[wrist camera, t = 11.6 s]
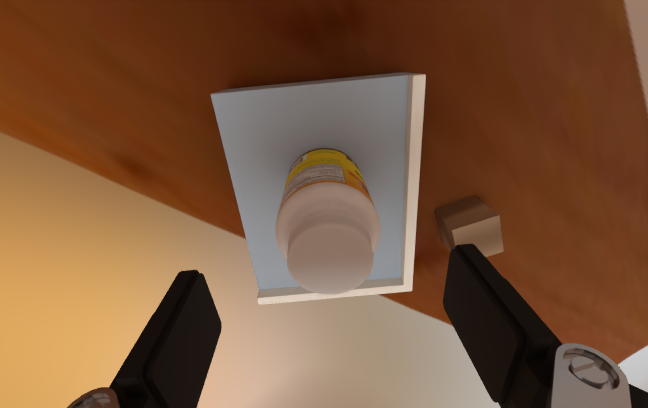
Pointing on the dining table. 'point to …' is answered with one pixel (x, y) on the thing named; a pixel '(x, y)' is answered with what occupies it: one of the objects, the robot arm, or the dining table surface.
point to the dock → (335, 132)
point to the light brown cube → (470, 226)
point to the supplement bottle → (327, 223)
